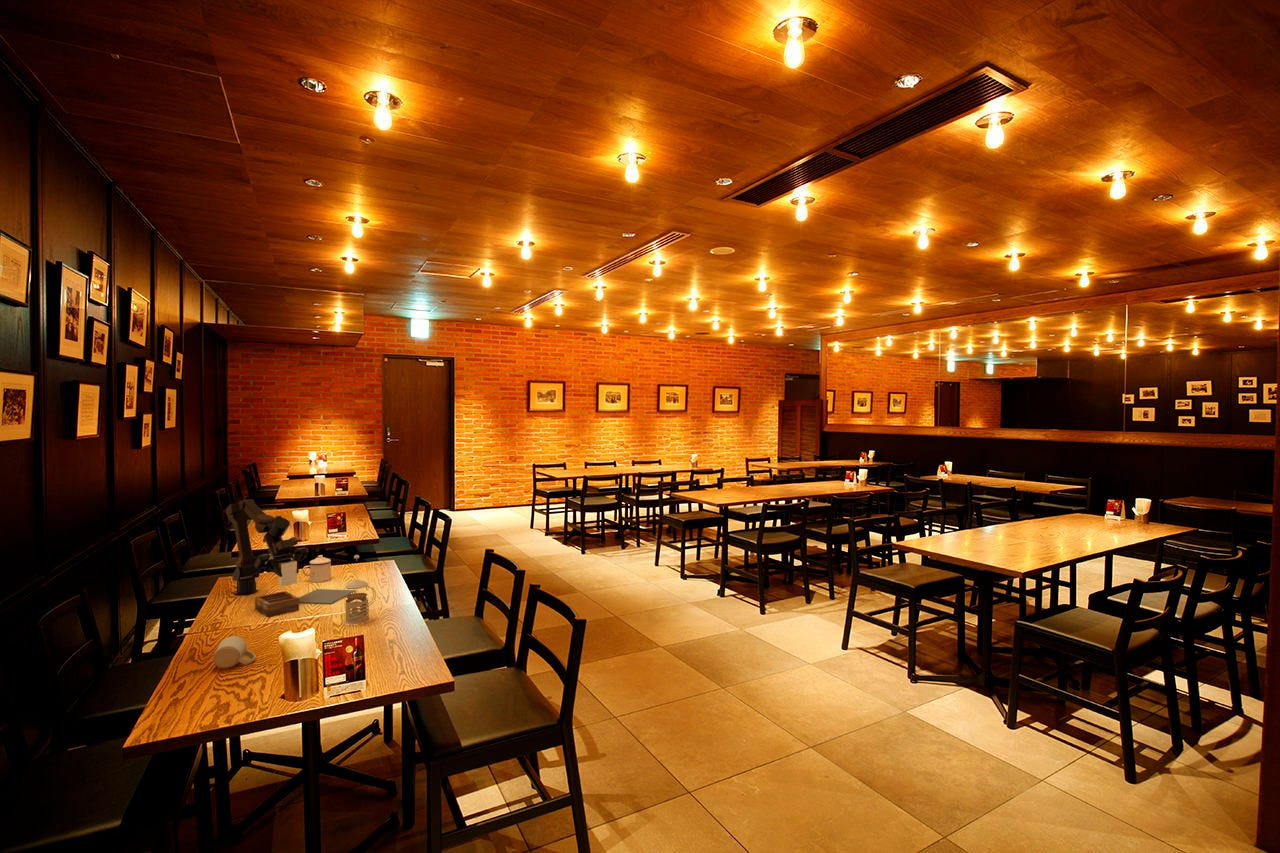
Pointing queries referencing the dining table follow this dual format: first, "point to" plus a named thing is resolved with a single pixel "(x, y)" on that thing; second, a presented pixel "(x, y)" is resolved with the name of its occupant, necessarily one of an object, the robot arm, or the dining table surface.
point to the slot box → (276, 604)
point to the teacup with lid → (319, 569)
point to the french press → (357, 603)
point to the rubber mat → (324, 596)
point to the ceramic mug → (232, 652)
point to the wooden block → (288, 573)
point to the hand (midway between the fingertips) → (289, 574)
